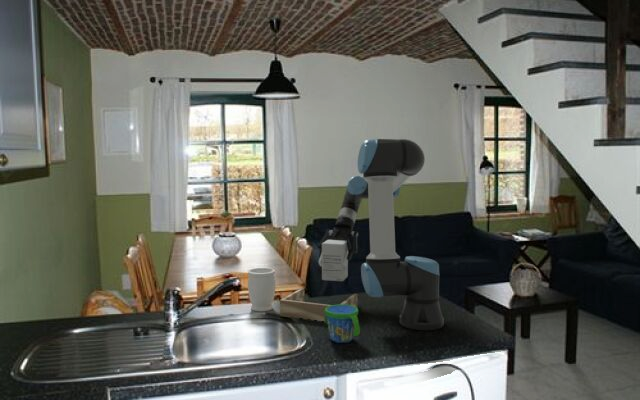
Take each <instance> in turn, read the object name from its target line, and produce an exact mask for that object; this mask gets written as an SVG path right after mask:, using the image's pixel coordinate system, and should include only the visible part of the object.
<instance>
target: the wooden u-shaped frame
mask: <svg viewBox="0 0 640 400" xmlns="http://www.w3.org/2000/svg"><path fill="white" fill-rule="evenodd" d="M340 304H345V305H351V306H355V307H356V308H358V293H353V294H352V295H350V296H349V297H348V298H346V299H345V300H344V301H342V302H341V303H340ZM328 306H331V304H324V303H316V302H309V301H308V302H307V301H305V288H303V287H301V288H299V289H297V290H295V291H293V292H291V293H290V294H288V295H286V296H285V297H283V298H281V299H280V300H279V316H280V317H283V318H284V317H286V318H291V317H293V318H292V319H299V318H303V319H302V320H307V319H311V320H310V321H314V320H317V321H316V322H322V321H324V318H325V309H326V307H328ZM323 323H325V321H324V322H323Z"/></svg>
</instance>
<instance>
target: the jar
mask: <svg viewBox="0 0 640 400" xmlns="http://www.w3.org/2000/svg"><path fill="white" fill-rule="evenodd" d="M274 274H276V270H275V269H274V268H269V267H258V268H257V267H256V268H251V269H249V270H247V275H248V280H247V292H248V298H249V301H250V304H251V306H250V309H251V310H252V311H254V312H269V311H272V309H274V306H273V302H274V301H275V300H274V299H275V293H276V292H275V291H276V279H275V275H274Z"/></svg>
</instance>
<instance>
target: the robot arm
mask: <svg viewBox="0 0 640 400" xmlns="http://www.w3.org/2000/svg"><path fill="white" fill-rule="evenodd" d="M425 162H426V161H425V153H424V151H423V150H422V148H421V146H419V145H418V143H416V142H414V141H412V140H411V139H405V138H400V139H395V138H394V139H392V138H372V139H366V140H363V142H362V144H361V145H360V148H359V151H358V157H357V170H358V173H359V174H362V175H363V176H360V175H354V176H352V177H351V178H350V179H349V181H348V182H347V185H346V189H345V194H344V196H343V200H342V203H341V207H340V210H339V213H338V215H337V219H336V221H335V225H334V228H333V229H329V228H326V229H325V234H324V235H323V237H322V238H321V240H320V241H319V243H318V244H317V245H316V247H317V250H318V251H319V254H318V257H319V259H318V261H317V262H318V265H319V266H320V267H322V243H324V242H325V241H327V240H345V241H347V246H348V251H346V255H345V258H344V262H343V266H344V268H346V267H347V264H348V265H349V262H350V261H351V260H352V257H353V254H358V238H359V232H358V230H354V231H353V229H354V226H355V223H356V220H357V217H358V216H357V215H358V212H359V209H360V206H361V203H362V200H367V199H368V222H369V223H368V224H369V227H368V228H369V251H370V252H369V254H368V255H367V256H366V258H365V262H364V263H362V264H361V266H360V272H361V274H360V276H361V281H362V285H363V287H364V288H363V289H364V290H365V292H366V294H367V295H368V296H369V297H372V298H386V297H387V298H388V297H402V296H404V302H403V306H402V309H401V312H400V315H399V324H400V325H401V326H402V327H404V328H407V329H410V330H416V331H435V330H439V329H441V328H443V327H444V326H445V325H444V323H445V322H444V320H445V319H444V316H443V314H442V309H441V305H440V302H439V301H440V275H441V274H440V264H439V263H438V262H437V261H436V260H434V259H431V258H427V257H424V256H414V255H409V256H405V258H404V261H401V256H400V255H399V254H398V253H397V252H396V233H395V228H396V227H395V208H394V207H395V206H394V205H395V204H394V203H395V201H394V200H395V199H396V198H398V197H399V194H400V191H401V189H400V188H401V186H402V185H403V184H405V182H406V181H407V180H408V179H409V178H410V177H413V176H415V175H417V174H418V173H419V172H420V171H421V170H422V169H423V167H424V165H425ZM351 236H352V244H353V248H352V246H351V243H350V238H349V237H351Z"/></svg>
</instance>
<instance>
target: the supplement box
mask: <svg viewBox="0 0 640 400" xmlns="http://www.w3.org/2000/svg"><path fill="white" fill-rule="evenodd" d="M346 251H349V250H348V246H347V241H346V240H329V239H328V240H327V241H325V242H324V243H322V266H321V280H322V281H330V282H331V281H333V282H334V281H335V282H344V281H345V280H346V279H347V278H348V276H349V271H348V270H349V269H348V268H349V263H348V264H347V267H346V268H344V266H343V262H344V258H345V255H346Z"/></svg>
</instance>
